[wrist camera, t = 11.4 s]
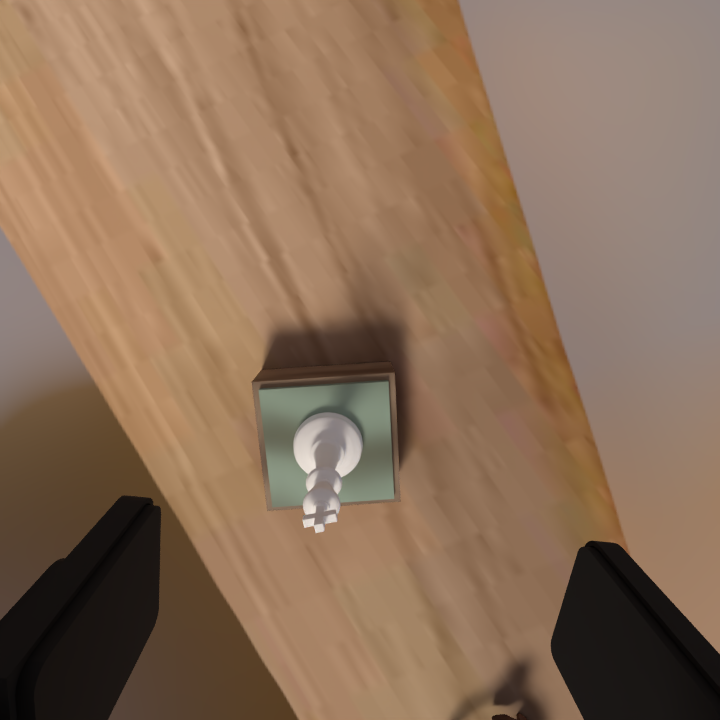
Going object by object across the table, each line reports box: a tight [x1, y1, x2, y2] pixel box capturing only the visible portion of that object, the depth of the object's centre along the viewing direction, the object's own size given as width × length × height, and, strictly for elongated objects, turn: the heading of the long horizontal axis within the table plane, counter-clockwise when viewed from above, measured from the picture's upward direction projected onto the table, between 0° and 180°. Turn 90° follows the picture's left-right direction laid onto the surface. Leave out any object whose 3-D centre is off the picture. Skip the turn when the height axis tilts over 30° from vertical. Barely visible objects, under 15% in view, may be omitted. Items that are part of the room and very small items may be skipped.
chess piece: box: [293, 412, 363, 533], centre depth 26 cm, size 5×5×10 cm
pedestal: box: [252, 361, 401, 511], centre depth 33 cm, size 10×10×4 cm
